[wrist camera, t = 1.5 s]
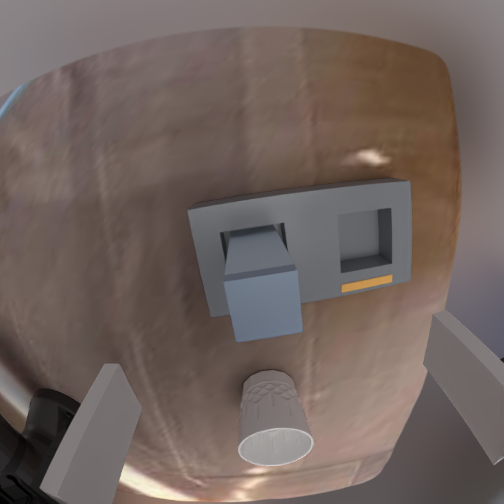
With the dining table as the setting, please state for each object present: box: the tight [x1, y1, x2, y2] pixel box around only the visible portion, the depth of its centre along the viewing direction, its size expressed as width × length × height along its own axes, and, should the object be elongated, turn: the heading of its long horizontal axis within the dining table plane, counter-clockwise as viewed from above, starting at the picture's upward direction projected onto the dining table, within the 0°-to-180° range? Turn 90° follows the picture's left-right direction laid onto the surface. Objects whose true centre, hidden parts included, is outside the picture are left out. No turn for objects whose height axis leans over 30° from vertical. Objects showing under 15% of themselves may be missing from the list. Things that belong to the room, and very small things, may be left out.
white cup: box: [238, 370, 314, 466], centre depth 29 cm, size 8×8×10 cm
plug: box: [223, 225, 303, 342], centre depth 22 cm, size 4×4×12 cm
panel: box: [187, 178, 412, 317], centre depth 26 cm, size 20×10×4 cm, turn 99°
